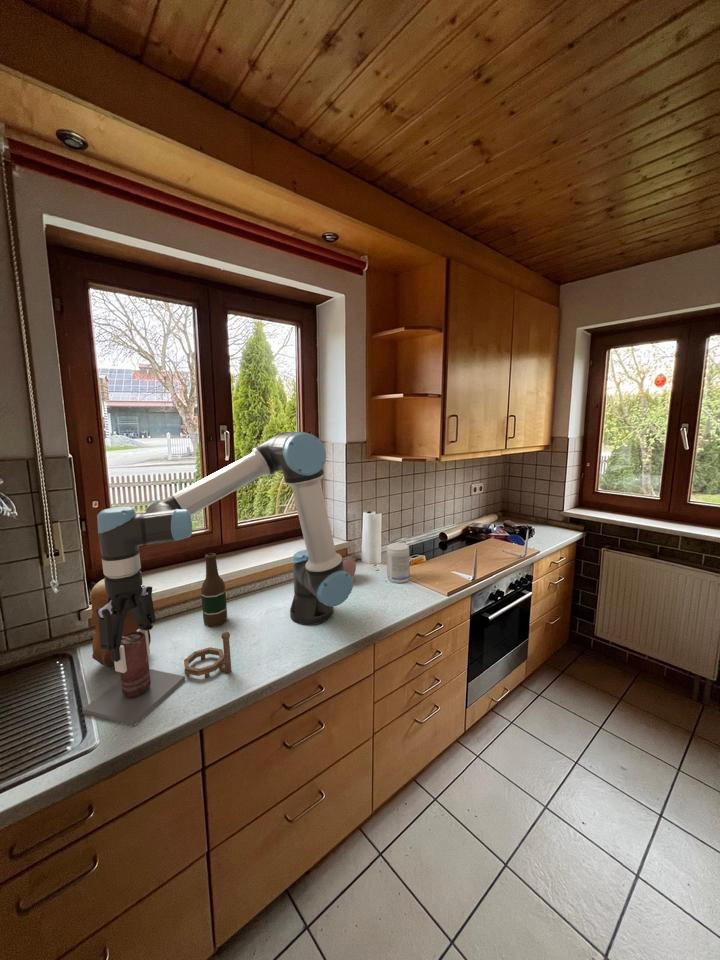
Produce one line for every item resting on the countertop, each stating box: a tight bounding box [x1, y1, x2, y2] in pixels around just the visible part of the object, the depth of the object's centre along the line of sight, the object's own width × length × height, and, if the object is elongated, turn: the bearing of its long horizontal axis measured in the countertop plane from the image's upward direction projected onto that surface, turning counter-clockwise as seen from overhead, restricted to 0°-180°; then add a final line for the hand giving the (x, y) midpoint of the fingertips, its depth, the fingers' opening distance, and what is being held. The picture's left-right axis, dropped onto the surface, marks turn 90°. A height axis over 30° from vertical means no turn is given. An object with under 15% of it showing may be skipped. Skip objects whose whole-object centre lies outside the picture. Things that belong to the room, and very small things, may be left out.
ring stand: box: [183, 631, 232, 679], centre depth 104 cm, size 14×10×12 cm
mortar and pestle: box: [343, 557, 357, 578], centre depth 161 cm, size 12×12×12 cm
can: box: [119, 632, 151, 697], centre depth 93 cm, size 6×6×14 cm
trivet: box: [81, 668, 186, 727], centre depth 94 cm, size 15×16×1 cm
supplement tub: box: [386, 542, 411, 584], centre depth 161 cm, size 10×10×15 cm
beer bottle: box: [200, 552, 228, 628], centre depth 128 cm, size 8×8×24 cm
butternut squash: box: [90, 578, 152, 668], centre depth 106 cm, size 14×13×25 cm
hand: (133, 662), depth 93 cm, fingers closed on can, 6 cm apart
